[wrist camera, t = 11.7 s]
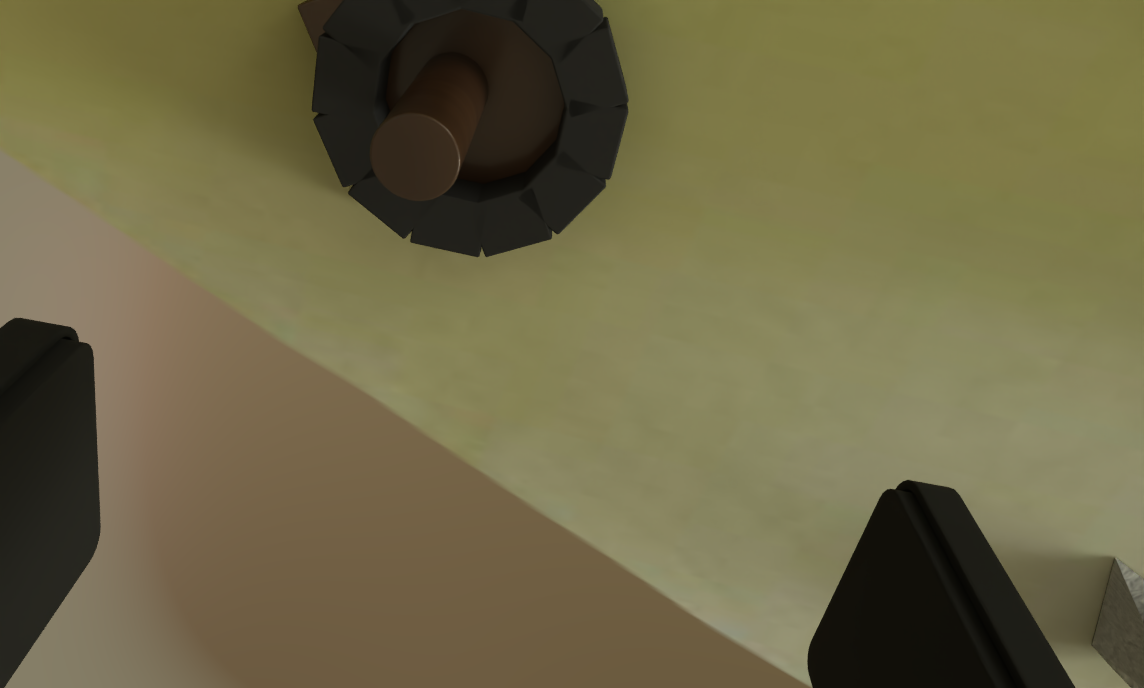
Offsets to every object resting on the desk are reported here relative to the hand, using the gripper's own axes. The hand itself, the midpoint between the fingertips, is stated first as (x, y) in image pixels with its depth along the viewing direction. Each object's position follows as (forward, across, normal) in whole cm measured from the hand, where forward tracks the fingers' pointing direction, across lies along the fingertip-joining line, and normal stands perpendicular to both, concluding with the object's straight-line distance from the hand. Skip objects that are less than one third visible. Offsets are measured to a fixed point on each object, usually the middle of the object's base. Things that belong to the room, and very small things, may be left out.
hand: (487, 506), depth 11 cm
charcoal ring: (+23, +2, +1) cm, 23 cm away
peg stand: (+24, +3, +1) cm, 24 cm away
